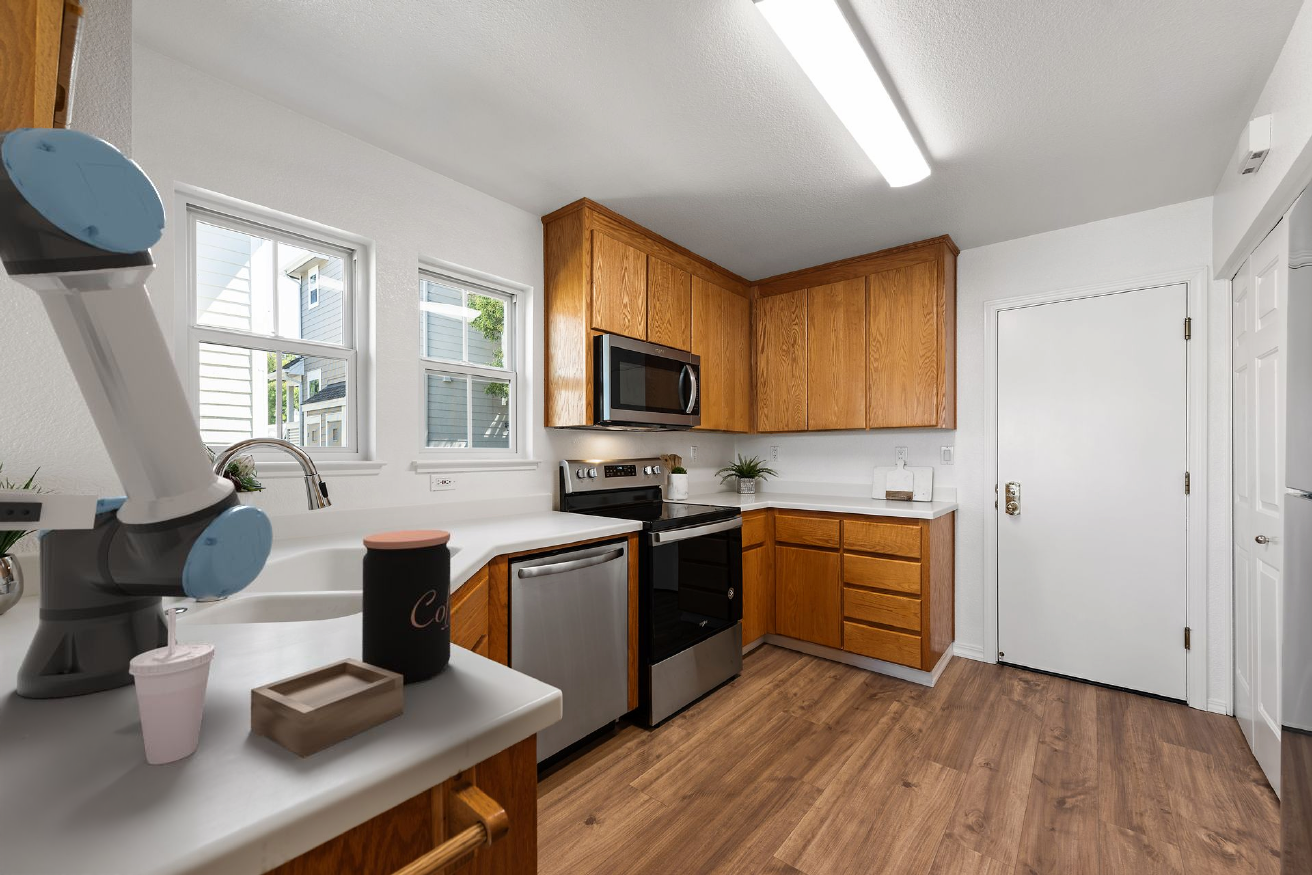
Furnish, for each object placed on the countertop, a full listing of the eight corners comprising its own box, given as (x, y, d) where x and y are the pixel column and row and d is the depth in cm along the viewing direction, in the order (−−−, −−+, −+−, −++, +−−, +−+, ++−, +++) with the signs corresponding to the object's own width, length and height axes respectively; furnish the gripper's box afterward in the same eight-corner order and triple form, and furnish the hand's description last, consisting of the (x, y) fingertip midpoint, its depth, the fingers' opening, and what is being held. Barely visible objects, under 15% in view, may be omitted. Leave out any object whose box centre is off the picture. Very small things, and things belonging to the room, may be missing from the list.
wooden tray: (250, 729, 60) (251, 689, 60) (348, 692, 68) (349, 657, 69) (304, 757, 54) (304, 712, 54) (403, 713, 63) (403, 675, 63)
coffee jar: (419, 691, 69) (419, 542, 69) (342, 685, 71) (343, 540, 71) (465, 659, 79) (465, 530, 80) (397, 654, 81) (398, 528, 82)
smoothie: (113, 779, 51) (116, 621, 51) (144, 744, 57) (146, 603, 57) (202, 762, 53) (204, 612, 54) (223, 731, 59) (224, 596, 59)
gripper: (-495, 555, 36) (2, 540, 54) (-528, 605, 24) (118, 565, 43) (-464, 437, 37) (15, 462, 55) (-482, 431, 25) (132, 466, 44)
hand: (61, 507), depth 49 cm, fingers open, 13 cm apart
